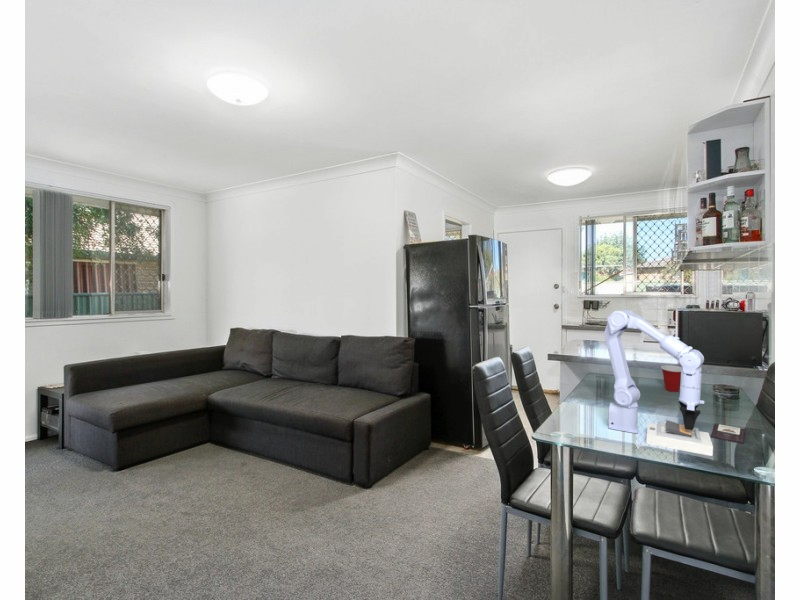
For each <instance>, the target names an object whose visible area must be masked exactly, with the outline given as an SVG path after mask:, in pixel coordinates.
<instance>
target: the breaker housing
mask: <svg viewBox="0 0 800 600" xmlns="http://www.w3.org/2000/svg"><path fill="white" fill-rule="evenodd" d="M691 435H692V436H691V437H686V436H680V435H676V434H674V433H671V432H668V431H666V422H662V421H657V423H652V422H647V428H646V441H645V443H646V445H647V444H648V445H653V446H657V447H661V448H667V449H673V450H677V451H683V452H688V453H694V454H699V455H703V456H710V457H713V455H714V453H713V452H714V446H713V442H712V438H711V435H710V433H709V432H705V431H700V430H699V428H698V427H694V428H693V430H691Z"/></svg>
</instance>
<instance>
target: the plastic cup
mask: <svg viewBox="0 0 800 600" xmlns="http://www.w3.org/2000/svg"><path fill="white" fill-rule="evenodd" d="M660 368H661V371H662V376H663V382H664V388H665V391H668V392H671V393H672V392H674V393H678V392H679V393H680V381H681V371H682V366H677V365H670V364H669V365H667V364H666V365H661V366H660Z"/></svg>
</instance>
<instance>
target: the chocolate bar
mask: <svg viewBox="0 0 800 600" xmlns="http://www.w3.org/2000/svg"><path fill="white" fill-rule="evenodd" d="M745 433H746V428H741V427H735V426H731V425H725V424H719V423H714V425H713V428H712V430H711V435H710V439H716V440H722V441H727V442H730V443H731V442H732V443H736V444H740V445H744V442H745Z"/></svg>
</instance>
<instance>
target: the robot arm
mask: <svg viewBox="0 0 800 600" xmlns="http://www.w3.org/2000/svg"><path fill="white" fill-rule="evenodd" d="M606 321H607V323H606V326H605V329H604V333H603V336H604V339H605V343H606V347H607V351H608V356H609V359H610V363H611V367H612V372H613V375H614V378H615V379H614V381H615V382H614V385H613V389H614V392H613V399H614V402H610V403H609V410H608V420H607V422H608V427H607V429H611V430H614V431H615V430H616V431H622V432H627V433H632V434H638V433H639V425H638V411H639V410H638V409H639V405H638V401H639V399H640V398H641V392H640V390H639V389H638V387H637V386H636V383H635V381H634V380H633V379H632V377H631V373H630V369H629V365H628V361H627V358H626V353H625V350H624V346H623V342H622V338H621V337H622V335H623V333H624V332H625V331H626V330H627V329H636V330H639V331H641V332H642V333H644V334H645V335H647V336H648V337H650V338H651V339H652V340H654V341H656V342H658V344H659V347H660V349H661V350H662V351H664V352H666V353H667V354H669V356H671V357H673V358H674V359H676V360H678V361H679V364H680V366H681V367H682V371H681V381H680V389H679V397H678V403H679V410H680V412H681V414H682V415H681V416H682V418H683V419H682V420H683V425H684V426H685V429H688V430H693V428H695V424H696V421H697V418H698V417H699V415H700V414H701V410H700V409H697V408H698V407H699V405H701V404H702V405H703V404H705V400H701V394H702V393H701V392H702V377H703V375H702V365H703V363H704V362H705V357H704V355H703V354H702V352H700V350H697V349H693V348H694V347H692V346H688V345H687V344H686V343H684V342H683V341H681V340H680V339H681V338H680V337H678V336H673V334H671V335H670V334H669V335H666V334H664V332H662V331H661V330H659V329H657V328H656V327H655V326H654V325H653V324H651V323H650V322H648V320H646V319H644V318H643V317H642V316H640V315H639V314H637V313H635V312H634V311H632V310H630V309H623V310H615V311H613V312H612V313H611V314H609V316H608V317H607V318H606Z"/></svg>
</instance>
